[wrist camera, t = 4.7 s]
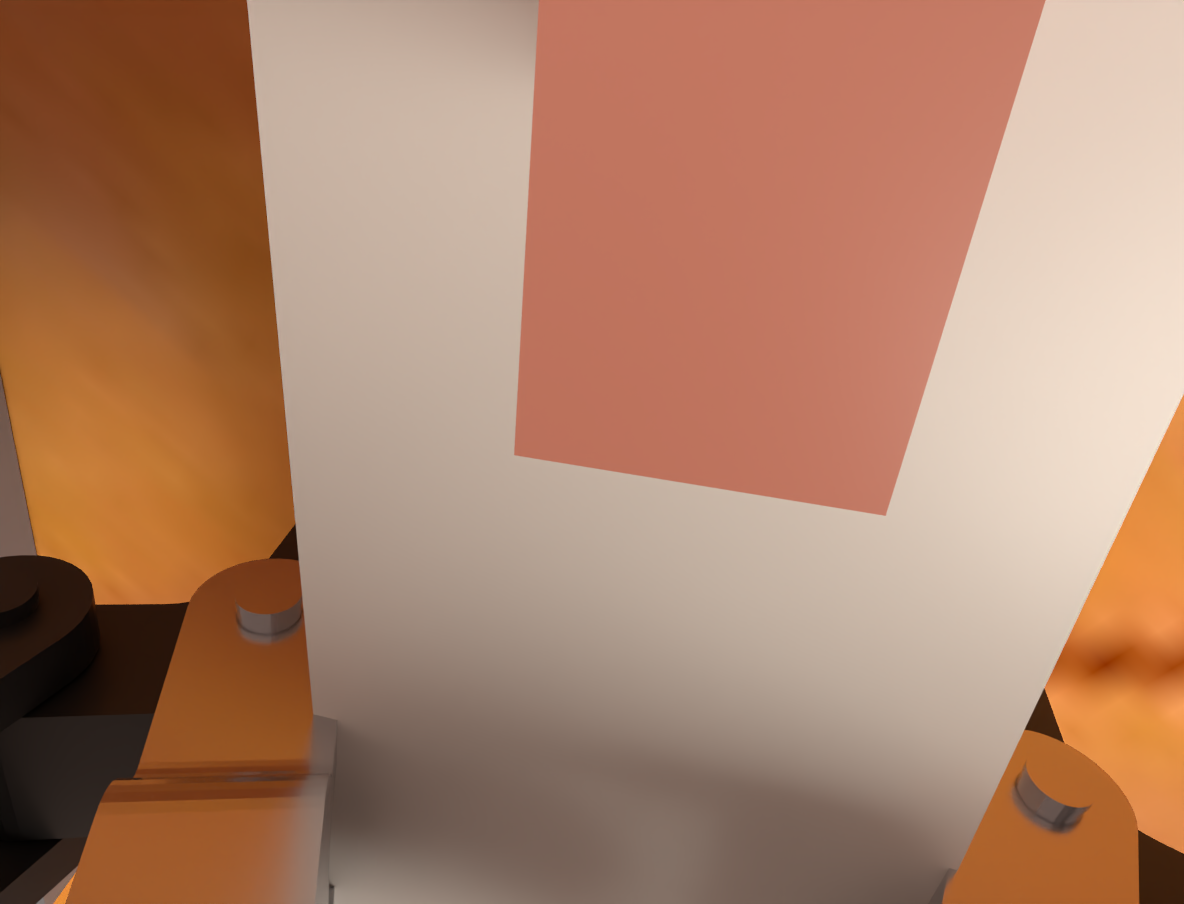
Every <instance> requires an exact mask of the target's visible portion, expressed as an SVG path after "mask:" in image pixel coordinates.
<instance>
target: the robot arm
mask: <svg viewBox="0 0 1184 904" xmlns="http://www.w3.org/2000/svg"><path fill="white" fill-rule="evenodd" d="M336 765H337V720H335V719H331V718H327V717H323V716H319V715H314V714H313V706H312V696H311V685H310V674H309V663H308V652H307V642H306V631H305V620H304V609H303V599H302V588H301V577H300V566H299V556H298V545H297V534H296V524H295V526H294V527H293V528H292V529H291V531H290V532H289V533H288V535H287V536H286V537H285V539H284V540H283V541H282V542H281V544H280V545H279V546H278V548H277V549H276V550H275V551H274V553H273V554H272V555H271V557H270V558H269V559H262V560H254V561H249V562H245V563H241V564H238V565H235V566H232V567H230V568H227V569H225V570H223V571H221V572H219V573H217V574H216V575H214V576H213V577H211V578H210V579H208V580H207V581H206V582H205V583H203V584H202V585H201V586H200V587H199V588H198V589H197V591H196V592H195V593H194V595H193V596H192V598H191V600H190V602H186V603H179V604H139V605H95V600H94V594H93V588H92V584H91V582H90V580H89V578H88V576H87V575H86V574H85V573H84V572H83V571H82V570H81V569H79V568H77V567H76V566H74V565H73V564H71V563H68V562H66V561H63V560H60V559H56V558H52V557H46V556H37V555H17V556H6V557H0V904H36V903H37V902H39V901H40V900H41V899H42V898H43V897H44V896H45V895H46V894H47V893H48V892H50V891H51V890H52V889H53V888H54V887H55V886H56V885H57V884H58V883H60V882H61V881H62V880H63V879H64V878H65V877H66V876H67V875H68V874H69V873H71V872H72V871H73V870H74V869H75V868H76V867H77V866H78V868H77V871H76V874H75V877H74V879H73V882H72V885H71V888H70V891H69V894H68V897H67V900H66V903H65V904H334V891H335V887H333V886H329V857H330V838H331V822H332V809H333V798H334V787H335V776H336ZM928 904H1184V854H1183V853H1181V852H1179V851H1177V850H1175V849H1173V848H1171V847H1168V846H1166V845H1164V844H1162V843H1160V842H1158V841H1157V840H1155V839H1153V838H1151V837H1149V836H1147V835H1145V834H1144V833H1142V832H1141V831H1139V830H1138V827H1137V820H1136V817H1135V814H1134V811H1133V809H1132V807H1131V805H1130V803H1129V801H1128V799H1127V798H1126V796H1125V795H1124V793H1123V792H1122V790H1121V789H1120V788H1119V786H1118V785H1117V784H1116V783H1115V782H1114V781H1113V779H1112V778H1111V777H1110V776H1109V775H1108V774H1107V773H1106V772H1105V771H1104V770H1103V769H1101V768H1100V767H1099V766H1098V765H1097V764H1096V763H1094V762H1093V761H1092V760H1091V759H1089V758H1088V757H1087V756H1085V755H1084V754H1082V753H1081V752H1079V751H1077V750H1076V749H1074V748H1073V747H1071V746H1069V745H1067V744H1065V743H1064V741H1063V738H1062V736H1061V733H1060V730H1059V727H1058V725H1057V722H1056V719H1055V716H1054V714H1053V711H1052V708H1051V705H1050V703H1049V700H1048V697H1047V694H1046V692H1045V689H1043V692H1042V694H1041V696H1040V698H1039V700H1038V702H1037V704H1036V706H1035V708H1034V710H1033V713H1032V715H1031V717H1030V719H1029V721H1028V723H1027V725H1026V727H1025V729H1024V732H1023V734H1022V736H1021V738H1020V740H1019V742H1018V744H1017V746H1016V748H1015V751H1014V753H1013V755H1012V757H1011V759H1010V761H1009V763H1008V765H1007V767H1006V770H1005V772H1004V774H1003V776H1002V778H1001V780H1000V782H999V784H998V786H997V789H996V791H995V793H994V795H993V797H992V799H991V801H990V803H989V805H988V808H987V810H986V812H985V814H984V816H983V818H982V820H981V822H980V824H979V826H978V829H977V831H976V833H975V835H974V837H973V839H972V841H971V843H970V845H969V848H968V850H967V852H966V854H965V856H964V858H963V860H962V862H961V864H960V867H959V869H958V870H955V869H951V868H949V869H948V871H947V872H946V874H945V876H944V877H943V879H942V881H941V883H940V884H939V886H938V888H937V889H936V891H935V893H934V894H933V896H932V898H931V900H930V901H929V903H928Z"/></svg>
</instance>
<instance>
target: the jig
mask: <svg viewBox="0 0 1184 904" xmlns="http://www.w3.org/2000/svg"><path fill="white" fill-rule="evenodd" d="M17 555H37V554H36V549H35V544H34V539H33V534H32V529H31V524H30V519H29V514H28V509H27V504H26V499H25V494H24V489H23V484H22V479H21V474H20V469H19V464H18V459H17V454H16V450H15V445H14V440H13V435H12V430H11V425H10V420H9V415H8V410H7V405H6V400H5V395H4V390H3V385H2V380H1V375H0V557H6V556H17ZM77 868H78V866H77V867H76V868H75V869H74V870H73V871H72V872H71V873H69V874H68V875H67V876H66V877H65V878H64V879H63V880H62V881H61V882H60V883H58V884H57V885H56V886H55V887H54V888H53V889H52V890H51V891H50V892H48V893H47V894H46V895H45V896H44V897H43V898H42V899H41V900H40V901H39V902H37V903H36V904H53V903H54V902H55V900H56V899H57V897H58V896H59V895H60V893H61V892H62V890H63V889H64V888H65V886H66V885H67V884H68V882H69V881H70V879H71V878H72V877H73V875H74V874H75V873H76V871H77Z"/></svg>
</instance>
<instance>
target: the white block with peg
mask: <svg viewBox="0 0 1184 904" xmlns="http://www.w3.org/2000/svg"><path fill="white" fill-rule="evenodd" d="M247 6H248V17H249V28H250V38H251V49H252V60H253V71H254V82H255V92H256V103H257V114H258V125H259V135H260V146H261V157H262V168H263V178H264V189H265V200H266V211H267V222H268V232H269V243H270V254H271V265H272V275H273V286H274V297H275V308H276V319H277V329H278V340H279V351H280V362H281V372H282V383H283V394H284V405H285V415H286V426H287V437H288V448H289V459H290V469H291V480H292V491H293V502H294V512H295V523H296V534H297V545H298V556H299V566H300V577H301V588H302V599H303V609H304V620H305V631H306V642H307V652H308V663H309V674H310V685H311V696H312V706H313V714H314V715H319V716H323V717H327V718H331V719H335V720H337V765H336V776H335V787H334V798H333V809H332V822H331V838H330V857H329V886H333V887H335V891H334V904H928V903H929V901H930V900H931V898H932V896H933V894H934V893H935V891H936V889H937V888H938V886H939V884H940V883H941V881H942V879H943V877H944V876H945V874H946V872H947V871H948V869H949V868H951V869H955V870H958V869H959V867H960V864H961V862H962V860H963V858H964V856H965V854H966V852H967V850H968V848H969V845H970V843H971V841H972V839H973V837H974V835H975V833H976V831H977V829H978V826H979V824H980V822H981V820H982V818H983V816H984V814H985V812H986V810H987V808H988V805H989V803H990V801H991V799H992V797H993V795H994V793H995V791H996V789H997V786H998V784H999V782H1000V780H1001V778H1002V776H1003V774H1004V772H1005V770H1006V767H1007V765H1008V763H1009V761H1010V759H1011V757H1012V755H1013V753H1014V751H1015V748H1016V746H1017V744H1018V742H1019V740H1020V738H1021V736H1022V734H1023V732H1024V729H1025V727H1026V725H1027V723H1028V721H1029V719H1030V717H1031V715H1032V713H1033V710H1034V708H1035V706H1036V704H1037V702H1038V700H1039V698H1040V696H1041V694H1042V692H1043V689H1044V687H1045V685H1046V683H1047V681H1048V679H1049V677H1050V675H1051V673H1052V670H1053V668H1054V666H1055V664H1056V662H1057V660H1058V658H1059V656H1060V654H1061V651H1062V649H1063V647H1064V645H1065V643H1066V641H1067V639H1068V637H1069V635H1070V632H1071V630H1072V628H1073V626H1074V624H1075V622H1076V620H1077V618H1078V616H1079V613H1080V611H1081V609H1082V607H1083V605H1084V603H1085V601H1086V599H1087V597H1088V595H1089V592H1090V590H1091V588H1092V586H1093V584H1094V582H1095V580H1096V578H1097V576H1098V573H1099V571H1100V569H1101V567H1102V565H1103V563H1104V561H1105V559H1106V557H1107V554H1108V552H1109V550H1110V548H1111V546H1112V544H1113V542H1114V540H1115V538H1116V535H1117V533H1118V531H1119V529H1120V527H1121V525H1122V523H1123V521H1124V519H1125V516H1126V514H1127V512H1128V510H1129V508H1130V506H1131V504H1132V502H1133V500H1134V497H1135V495H1136V493H1137V491H1138V489H1139V487H1140V485H1141V483H1142V481H1143V479H1144V476H1145V474H1146V472H1147V470H1148V468H1149V466H1150V464H1151V462H1152V460H1153V457H1154V455H1155V453H1156V451H1157V449H1158V447H1159V445H1160V443H1161V441H1162V438H1163V436H1164V434H1165V432H1166V430H1167V428H1168V426H1169V424H1170V422H1171V419H1172V417H1173V415H1174V413H1175V411H1176V409H1177V407H1178V405H1179V403H1180V400H1181V398H1182V396H1183V394H1184V0H247Z"/></svg>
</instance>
